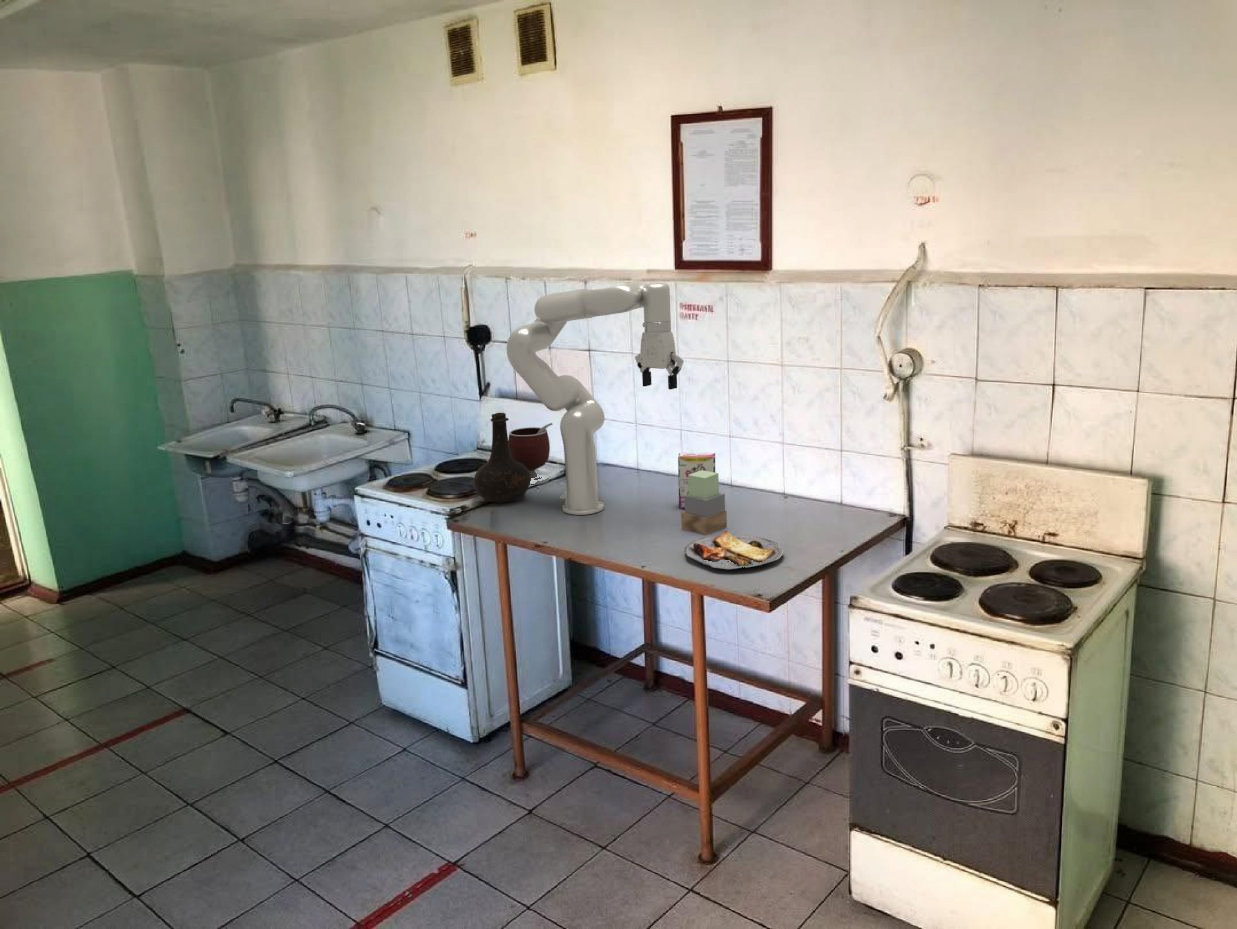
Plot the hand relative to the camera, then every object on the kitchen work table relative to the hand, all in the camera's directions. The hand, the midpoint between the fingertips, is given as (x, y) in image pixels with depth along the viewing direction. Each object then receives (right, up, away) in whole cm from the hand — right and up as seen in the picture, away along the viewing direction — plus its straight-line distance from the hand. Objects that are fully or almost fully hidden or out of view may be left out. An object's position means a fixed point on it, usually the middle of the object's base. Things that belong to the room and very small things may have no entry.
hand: (659, 387), depth 287 cm
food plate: (+18, -46, -28) cm, 57 cm away
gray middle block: (+13, -35, -5) cm, 38 cm away
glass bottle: (-48, -34, +33) cm, 68 cm away
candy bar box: (+12, -35, +16) cm, 40 cm away
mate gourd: (-41, -28, +54) cm, 73 cm away
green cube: (+12, -31, -6) cm, 34 cm away
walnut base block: (+12, -40, -4) cm, 42 cm away
